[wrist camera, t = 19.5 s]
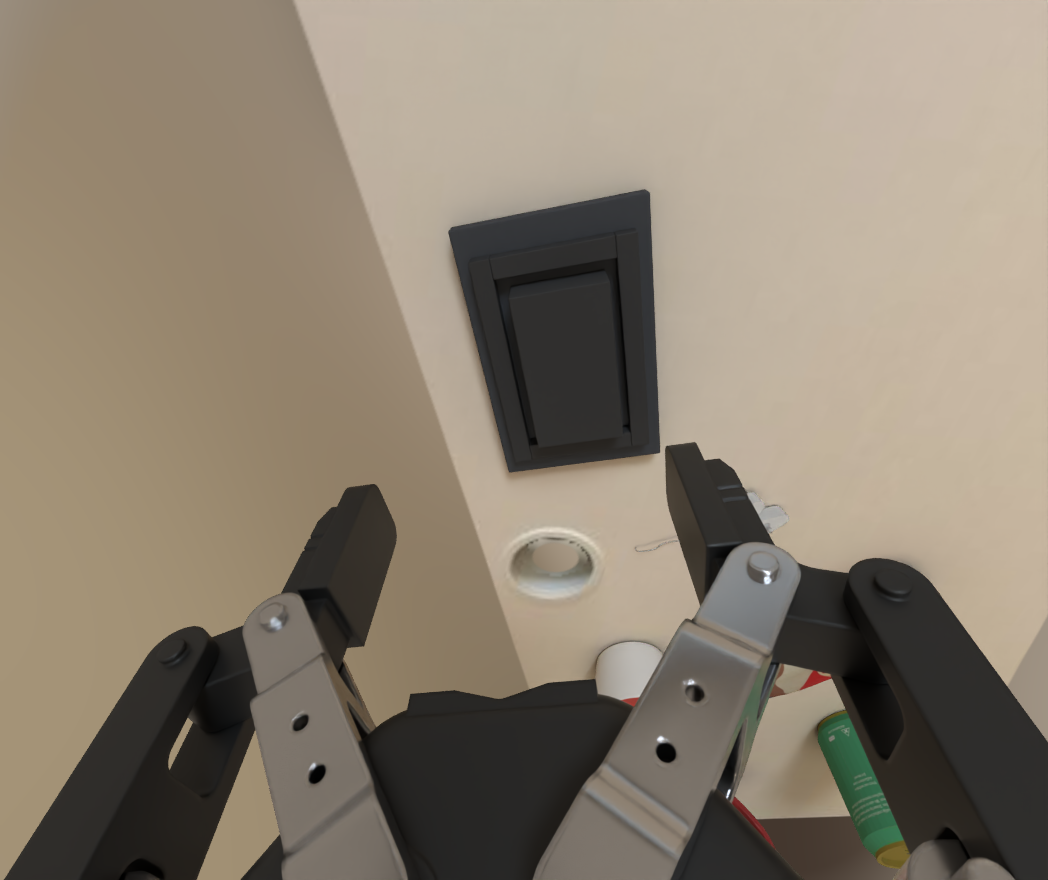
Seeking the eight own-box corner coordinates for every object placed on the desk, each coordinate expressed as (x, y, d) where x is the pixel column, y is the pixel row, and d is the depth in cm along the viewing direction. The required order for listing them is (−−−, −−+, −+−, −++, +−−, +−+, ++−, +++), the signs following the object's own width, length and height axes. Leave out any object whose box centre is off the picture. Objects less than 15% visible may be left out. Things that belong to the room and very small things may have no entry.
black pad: (510, 285, 29) (507, 298, 27) (604, 268, 28) (609, 281, 26) (538, 428, 34) (538, 448, 32) (618, 417, 34) (623, 437, 31)
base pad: (451, 227, 28) (444, 235, 26) (646, 189, 27) (653, 194, 25) (509, 463, 37) (508, 481, 36) (657, 443, 36) (663, 461, 34)
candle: (577, 678, 53) (581, 740, 48) (599, 627, 48) (606, 691, 43) (657, 688, 54) (670, 751, 49) (687, 640, 49) (705, 704, 44)
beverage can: (833, 748, 60) (892, 876, 50) (800, 723, 57) (855, 854, 47) (900, 726, 57) (977, 858, 47) (868, 698, 54) (943, 832, 44)
